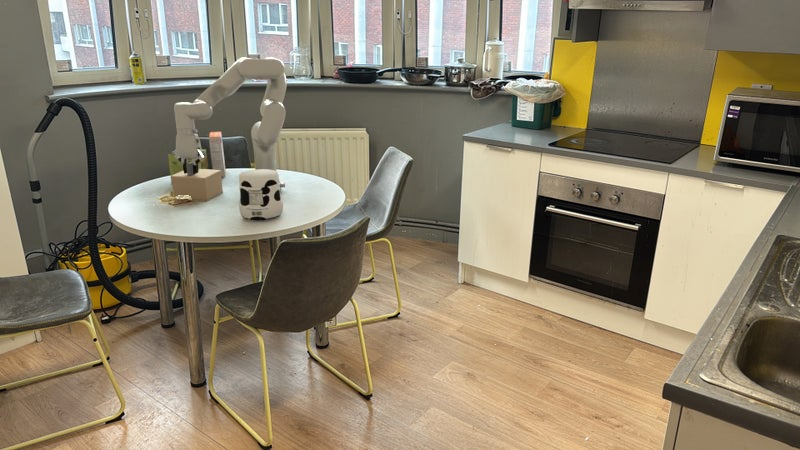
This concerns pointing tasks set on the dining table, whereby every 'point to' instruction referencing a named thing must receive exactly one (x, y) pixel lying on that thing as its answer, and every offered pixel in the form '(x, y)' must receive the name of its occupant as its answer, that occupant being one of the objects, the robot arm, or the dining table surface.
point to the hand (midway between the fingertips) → (191, 172)
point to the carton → (198, 187)
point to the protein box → (178, 167)
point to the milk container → (260, 195)
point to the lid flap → (200, 175)
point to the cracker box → (217, 152)
